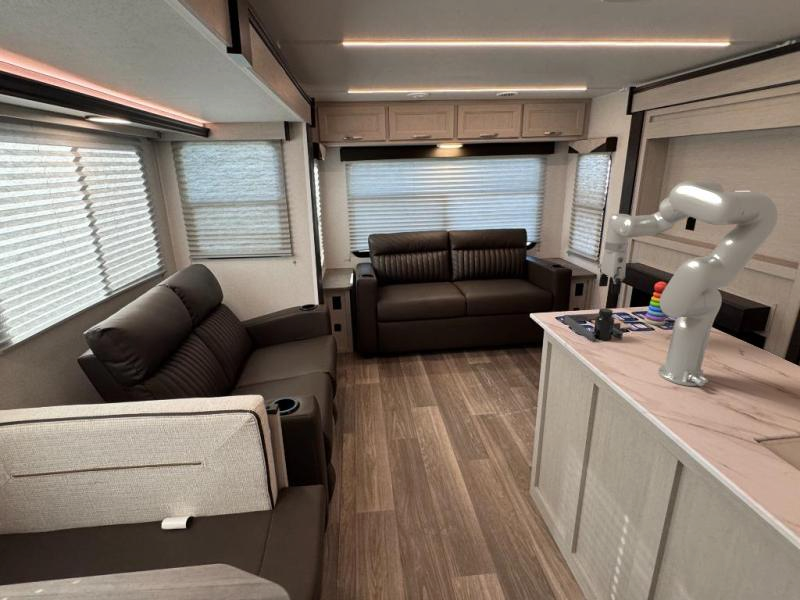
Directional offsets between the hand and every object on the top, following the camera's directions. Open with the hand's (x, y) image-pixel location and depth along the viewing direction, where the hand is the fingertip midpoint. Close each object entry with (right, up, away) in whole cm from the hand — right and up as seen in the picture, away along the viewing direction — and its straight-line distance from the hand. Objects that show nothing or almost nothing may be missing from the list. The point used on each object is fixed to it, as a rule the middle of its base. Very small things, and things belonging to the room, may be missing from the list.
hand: (608, 289), depth 160 cm
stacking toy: (+30, -14, +19) cm, 38 cm away
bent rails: (+2, -17, +12) cm, 21 cm away
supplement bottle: (-1, -20, +4) cm, 20 cm away
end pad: (+10, -15, +18) cm, 25 cm away
